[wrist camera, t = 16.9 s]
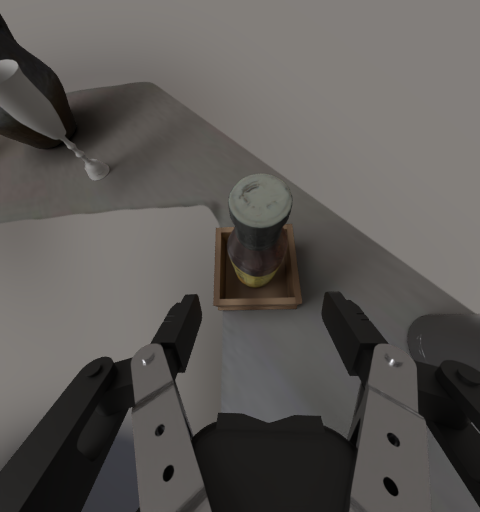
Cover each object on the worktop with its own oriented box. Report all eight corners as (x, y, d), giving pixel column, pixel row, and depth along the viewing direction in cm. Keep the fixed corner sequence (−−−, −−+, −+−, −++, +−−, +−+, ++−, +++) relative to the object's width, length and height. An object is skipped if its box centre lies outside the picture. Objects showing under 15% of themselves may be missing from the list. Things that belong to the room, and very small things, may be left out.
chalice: (79, 181, 41) (-43, 88, 25) (92, 159, 44) (-12, 59, 27) (106, 184, 40) (-1, 89, 24) (118, 162, 43) (27, 59, 26)
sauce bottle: (236, 254, 31) (209, 156, 12) (272, 252, 31) (300, 147, 12) (237, 292, 29) (207, 242, 10) (276, 290, 28) (319, 234, 10)
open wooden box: (287, 238, 32) (294, 221, 27) (295, 308, 28) (305, 306, 22) (220, 241, 33) (213, 225, 27) (219, 310, 29) (210, 308, 23)
